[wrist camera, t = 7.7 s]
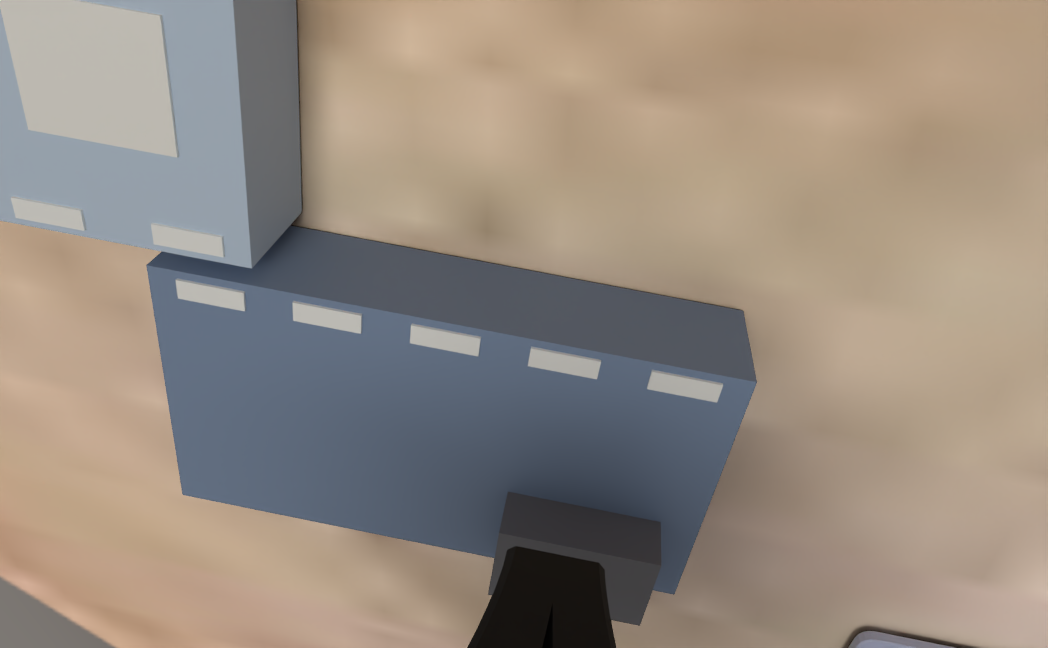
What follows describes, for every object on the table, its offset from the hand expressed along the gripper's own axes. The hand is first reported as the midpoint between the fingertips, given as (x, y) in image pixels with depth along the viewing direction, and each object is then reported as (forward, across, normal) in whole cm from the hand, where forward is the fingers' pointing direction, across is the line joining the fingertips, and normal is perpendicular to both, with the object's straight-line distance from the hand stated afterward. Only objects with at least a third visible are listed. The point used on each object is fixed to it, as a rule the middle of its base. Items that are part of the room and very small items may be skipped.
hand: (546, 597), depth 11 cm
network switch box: (+10, +3, +4) cm, 11 cm away
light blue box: (+10, +10, -3) cm, 15 cm away
